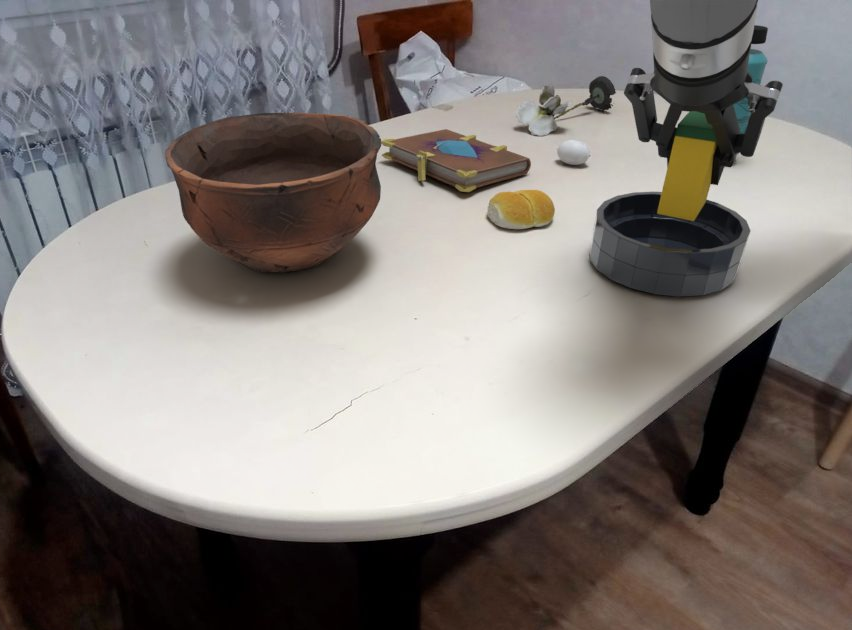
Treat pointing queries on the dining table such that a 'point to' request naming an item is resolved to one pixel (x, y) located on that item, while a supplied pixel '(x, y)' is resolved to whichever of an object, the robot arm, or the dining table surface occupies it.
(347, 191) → the bowl
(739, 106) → the beverage bottle
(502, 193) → the bread roll
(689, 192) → the sponge
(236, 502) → the dining table surface
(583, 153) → the egg
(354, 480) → the dining table surface
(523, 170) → the book
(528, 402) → the dining table surface
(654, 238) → the wash bowl
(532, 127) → the artificial flower
